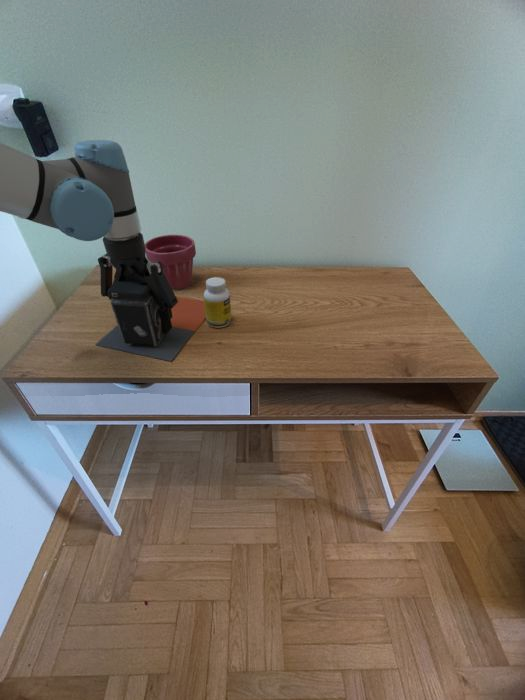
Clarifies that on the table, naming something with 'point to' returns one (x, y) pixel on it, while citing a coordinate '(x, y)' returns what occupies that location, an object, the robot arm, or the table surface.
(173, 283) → the flower pot
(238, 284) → the table surface
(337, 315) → the table surface
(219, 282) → the pill bottle
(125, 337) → the camera
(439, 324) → the table surface
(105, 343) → the desk mat
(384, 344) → the table surface
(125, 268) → the robot arm
